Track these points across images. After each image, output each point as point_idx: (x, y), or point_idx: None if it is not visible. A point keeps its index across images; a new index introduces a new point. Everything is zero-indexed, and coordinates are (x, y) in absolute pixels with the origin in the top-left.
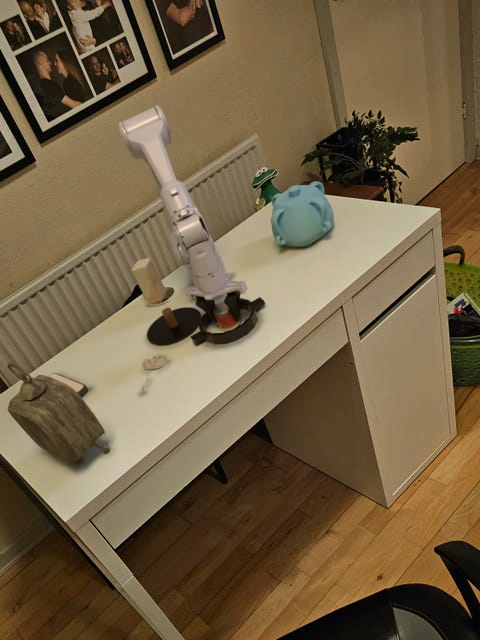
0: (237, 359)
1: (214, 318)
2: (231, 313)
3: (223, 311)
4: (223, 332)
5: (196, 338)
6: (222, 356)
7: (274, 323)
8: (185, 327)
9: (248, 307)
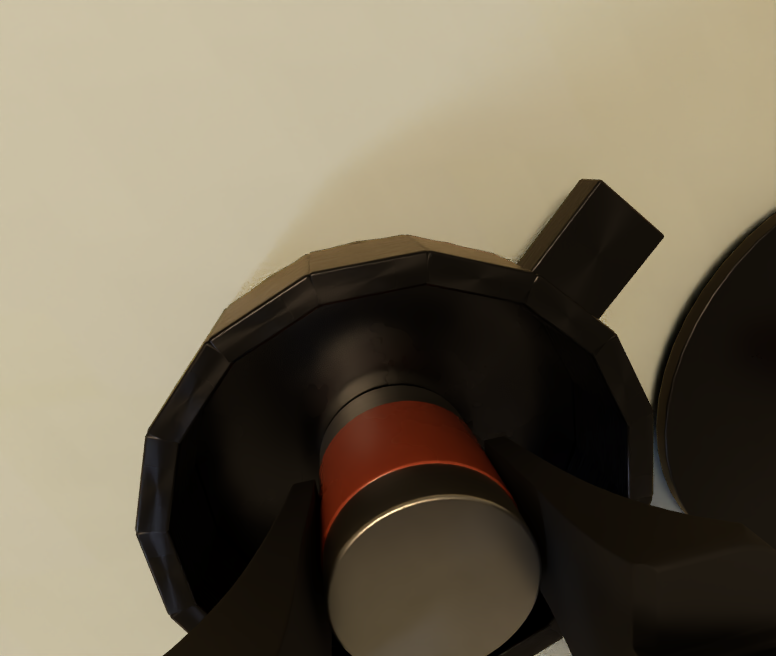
0: (86, 93)
1: (506, 463)
2: (325, 539)
3: (380, 536)
4: (307, 308)
5: (588, 216)
6: (269, 118)
7: (51, 538)
8: (760, 376)
9: None
